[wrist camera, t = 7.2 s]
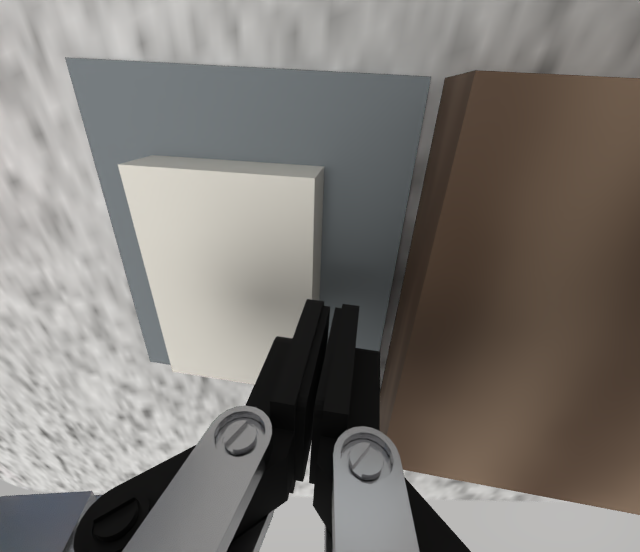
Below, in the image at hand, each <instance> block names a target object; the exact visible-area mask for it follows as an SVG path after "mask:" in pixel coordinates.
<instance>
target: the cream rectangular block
mask: <svg viewBox="0 0 640 552" xmlns="http://www.w3.org/2000/svg"><path fill="white" fill-rule="evenodd" d="M118 168H119V171H120V175H121V179H122V183H123V187H124V190H125V194H126V198H127V202H128V205H129V209H130V213H131V217H132V221H133V224H134V228H135V232H136V236H137V239H138V243H139V247H140V251H141V255H142V258H143V262H144V266H145V270H146V273H147V277H148V281H149V285H150V289H151V292H152V296H153V300H154V304H155V307H156V311H157V315H158V319H159V323H160V326H161V330H162V334H163V338H164V341H165V345H166V349H167V353H168V357H169V360H170V364H171V368H172V372H177V373H183V374H190V375H196V376H203V377H209V378H215V379H222V380H228V381H235V382H241V383H248V384H254V385H255V383H256V381H257V378H258V376H259V374H260V371H261V369H262V367H263V364H264V362H265V360H266V358H267V355H268V353H269V351H270V348H271V346H272V344H273V341H274V340H275V338H276V337H277V336H280V337H286V338H293V336H294V333H295V330H296V327H297V325H298V322H299V319H300V316H301V314H302V311H303V308H304V305H305V303H306V300H307V299H311V300H319V295H320V268H321V240H322V213H323V185H324V166H310V165H295V164H279V163H264V162H249V161H233V160H218V159H203V158H188V157H172V156H157V155H151V156H147V157H144V158H140V159H136V160H133V161H129V162H125V163H121V164H118Z"/></svg>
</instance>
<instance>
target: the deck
mask: <svg viewBox="0 0 640 552" xmlns="http://www.w3.org/2000/svg"><path fill="white" fill-rule="evenodd" d="M380 432H382V433H384V434H385V435H386V436H387V437H388V438H390V439H391V441H392V442H393V443H394V445H395V446H396V448H397V450H398V453H399V456H400V459H401V464H402V469H403V470H408V471H413V472H418V473H424V474H429V475H434V476H439V477H444V478H450V479H455V480H460V481H465V482H471V483H476V484H481V485H486V486H491V487H497V488H502V489H507V490H512V491H518V492H523V493H528V494H533V495H538V496H544V497H549V498H554V499H559V500H564V501H570V502H575V503H580V504H585V505H591V506H596V507H601V508H607V509H611V510H617V511H622V512H627V513H632V514H638V515H640V78H620V77H599V76H579V75H559V74H538V73H518V72H498V71H477V70H475V71H471V72H467V73H463V74H459V75H455V76H451V77H447V78H445V81H444V86H443V91H442V96H441V101H440V106H439V110H438V115H437V120H436V125H435V130H434V135H433V139H432V144H431V149H430V154H429V159H428V164H427V168H426V173H425V178H424V183H423V188H422V193H421V197H420V202H419V207H418V212H417V217H416V222H415V226H414V231H413V236H412V241H411V246H410V251H409V255H408V260H407V265H406V270H405V275H404V280H403V284H402V289H401V294H400V299H399V304H398V309H397V313H396V318H395V323H394V328H393V333H392V338H391V342H390V347H389V352H388V357H387V362H386V367H385V371H384V376H383V381H382V386H381V391H380Z"/></svg>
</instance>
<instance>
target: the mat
mask: <svg viewBox="0 0 640 552" xmlns="http://www.w3.org/2000/svg"><path fill="white" fill-rule="evenodd" d="M65 59H66V63H67V66H68V70H69V74H70V77H71V81H72V84H73V88H74V91H75V95H76V98H77V102H78V106H79V109H80V113H81V116H82V120H83V123H84V127H85V131H86V134H87V138H88V141H89V145H90V148H91V152H92V156H93V159H94V163H95V166H96V170H97V173H98V177H99V180H100V184H101V188H102V191H103V195H104V198H105V202H106V205H107V209H108V213H109V216H110V220H111V223H112V227H113V230H114V234H115V238H116V241H117V245H118V248H119V252H120V255H121V259H122V262H123V266H124V270H125V273H126V277H127V280H128V284H129V287H130V291H131V295H132V298H133V302H134V305H135V309H136V312H137V316H138V320H139V323H140V327H141V330H142V334H143V337H144V341H145V344H146V348H147V352H148V355H149V359H150V361H151V362H157V363H163V364H169V365H171V364H170V360H169V357H168V353H167V349H166V345H165V341H164V338H163V334H162V330H161V326H160V323H159V319H158V315H157V311H156V307H155V304H154V300H153V296H152V292H151V289H150V285H149V281H148V277H147V273H146V270H145V266H144V262H143V258H142V255H141V251H140V247H139V243H138V239H137V236H136V232H135V228H134V224H133V221H132V217H131V213H130V209H129V205H128V202H127V198H126V194H125V190H124V187H123V183H122V179H121V175H120V171H119V168H118V164H121V163H125V162H129V161H133V160H136V159H140V158H144V157H147V156H151V155H157V156H172V157H188V158H203V159H218V160H233V161H249V162H264V163H279V164H295V165H310V166H324V185H323V213H322V240H321V268H320V295H319V301H324V306H329V307H330V317H329V329H328V339H329V334H330V329H331V325H332V320H333V315H334V311H335V307H337V308H342V304H349V305H356V306H360V307H359V317H358V327H357V337H356V347H355V348H360V349H367V350H374V351H380V345H381V340H382V335H383V330H384V324H385V319H386V314H387V308H388V303H389V298H390V292H391V287H392V282H393V276H394V271H395V266H396V260H397V255H398V250H399V245H400V239H401V234H402V229H403V223H404V218H405V213H406V207H407V202H408V197H409V191H410V186H411V181H412V175H413V170H414V165H415V160H416V154H417V149H418V144H419V138H420V133H421V128H422V122H423V117H424V112H425V106H426V101H427V96H428V90H429V85H430V80H431V77H428V76H409V75H390V74H371V73H352V72H333V71H313V70H294V69H275V68H256V67H237V66H217V65H198V64H179V63H160V62H141V61H122V60H102V59H83V58H65ZM327 343H328V342H327Z"/></svg>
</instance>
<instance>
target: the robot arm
mask: <svg viewBox="0 0 640 552" xmlns="http://www.w3.org/2000/svg"><path fill="white" fill-rule="evenodd" d="M359 307H360V306H356V305H349V304H342V308H337V307H335V311H334V315H333V320H332V325H331V329H330V334H329V339H328V329H329V317H330V307H329V306H324V301H319V300H311V299H307V300H306V303H305V305H304V308H303V311H302V314H301V316H300V319H299V322H298V325H297V327H296V330H295V333H294V336H293V338H286V337H280V336H277V337H276V338H275V340H274V341H273V344H272V346H271V348H270V351H269V353H268V355H267V358H266V360H265V362H264V364H263V367H262V369H261V371H260V374H259V376H258V378H257V381H256V383H255V385H254V387H253V390H252V392H251V394H250V397H249V399H248V401H247V404H246V406H238V407H234V408H231V409H229V410H226V411H225V412H223V413H222V414H220V415H219V416H218V417H217V418H216V419H215V420H214V421H213V422H212V424H211V425H210V427H209V428H208V429H207V431H206V432H205V434H204V435H203V437H202V438H201V439H200V441H199V442H198V444H197V445H195V446H193V447H191V448H189V449H188V450H186V451H184V452H182V453H180V454H178V455H176V456H174V457H172V458H170V459H168V460H166V461H164V462H163V463H161V464H159V465H157V466H155V467H153V468H151V469H149V470H147V471H145V472H143V473H141V474H140V475H138V476H136V477H134V478H132V479H130V480H128V481H126V482H124V483H122V484H120V485H118V486H117V487H115V488H113V489H111V490H110V491H108V492H107V493H105V494H104V495H94V494H93V492H92V491H86V492H68V493H50V494H32V495H16V496H2V497H0V552H259V550H260V547H261V545H262V542H263V540H264V537H265V534H266V532H267V530H268V527H269V525H270V522H271V520H272V517H273V513H274V509H276V508H277V507H279V506H280V505H281V504H283V503H284V502H285V501H287V500H288V496H289V493H293V491H294V487H295V482H296V480H297V481H302V482H303V480H304V476H305V471H306V466H307V461H308V456H309V451H310V446H311V460H310V477H309V483H312V484H315V485H314V500H313V506H314V508H315V510H316V511H317V513H318V514H319V516H320V518H321V519H322V521H323V522H324V524H325V552H471V551H470V550H469V549H468V548H467V547H466V546H465V544H464V543H463V542H462V541H461V540H460V539H459V538H458V537H457V535H456V534H455V533H454V532H453V531H452V530H451V529H450V528H449V527H448V525H447V524H446V523H445V522H444V521H443V520H442V519H441V518H440V517H439V516H438V514H437V513H436V512H435V511H434V510H433V509H432V507H431V506H430V505H429V504H428V503H427V502H426V501H425V500H424V498H423V497H422V496H421V495H420V494H419V493H418V492H417V491H416V490H415V488H414V487H413V486H412V485H411V484H410V483H409V482H408V481H407V479H406V478H405V477H404V473H403V469H402V464H401V459H400V456H399V453H398V450H397V448H396V446H395V445H394V443H393V442H392V441H391V439H390V438H388V437H387V436H386V435H385V434H384V433H382V432H380V352H379V351H374V350H367V349H360V348H355V347H356V337H357V327H358V317H359ZM327 342H328V343H327ZM311 441H312V444H311Z"/></svg>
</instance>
